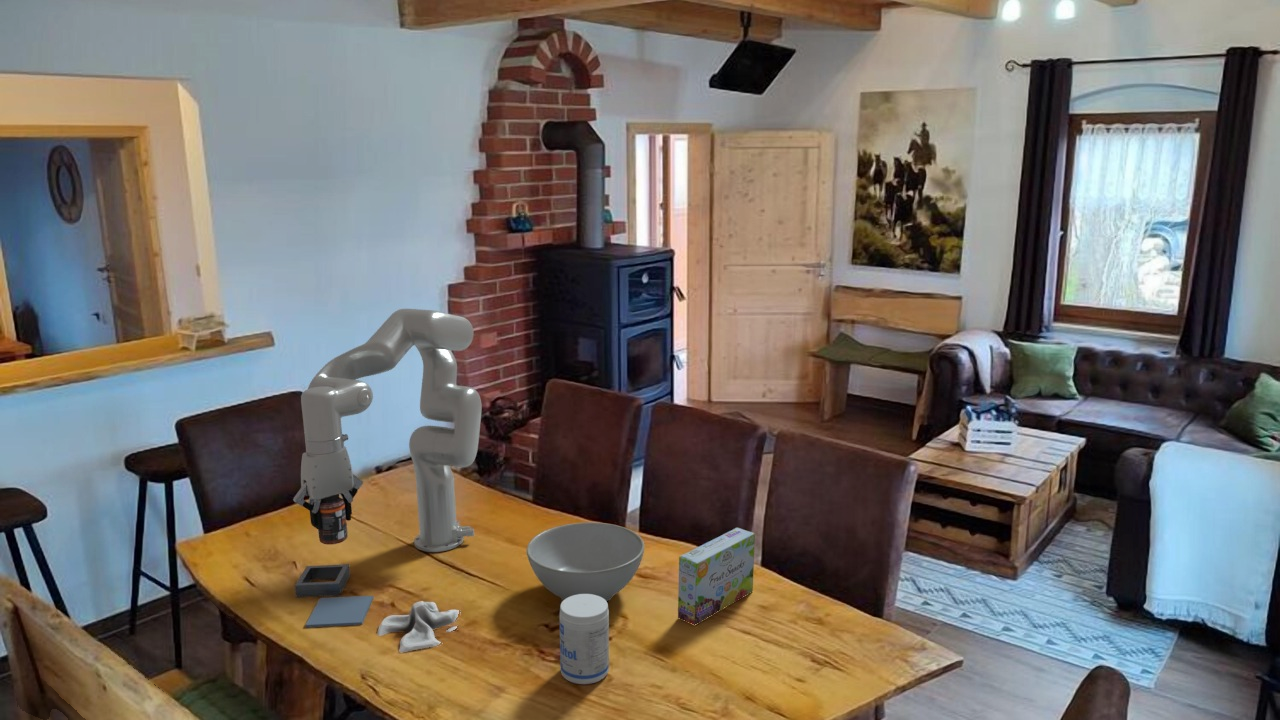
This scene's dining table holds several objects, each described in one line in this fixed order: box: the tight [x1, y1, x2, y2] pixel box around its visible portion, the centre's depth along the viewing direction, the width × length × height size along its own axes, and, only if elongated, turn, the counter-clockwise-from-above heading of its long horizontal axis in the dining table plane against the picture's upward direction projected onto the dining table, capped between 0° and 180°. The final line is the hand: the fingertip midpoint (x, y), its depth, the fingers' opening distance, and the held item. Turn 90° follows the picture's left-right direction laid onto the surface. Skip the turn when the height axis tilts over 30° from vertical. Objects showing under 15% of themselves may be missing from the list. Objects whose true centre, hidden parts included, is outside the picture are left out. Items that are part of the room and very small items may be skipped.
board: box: [304, 595, 374, 628], centre depth 203 cm, size 12×12×1 cm
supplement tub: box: [558, 594, 610, 685], centre depth 177 cm, size 10×10×15 cm
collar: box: [294, 563, 351, 599], centre depth 214 cm, size 10×10×3 cm
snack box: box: [677, 527, 756, 625], centre depth 202 cm, size 21×6×15 cm, turn 137°
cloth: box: [376, 600, 459, 654], centre depth 197 cm, size 22×19×6 cm
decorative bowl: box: [526, 521, 645, 602], centre depth 208 cm, size 27×27×12 cm
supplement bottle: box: [317, 494, 349, 545], centre depth 198 cm, size 6×6×11 cm
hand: (332, 522), depth 198 cm, fingers closed on supplement bottle, 6 cm apart
